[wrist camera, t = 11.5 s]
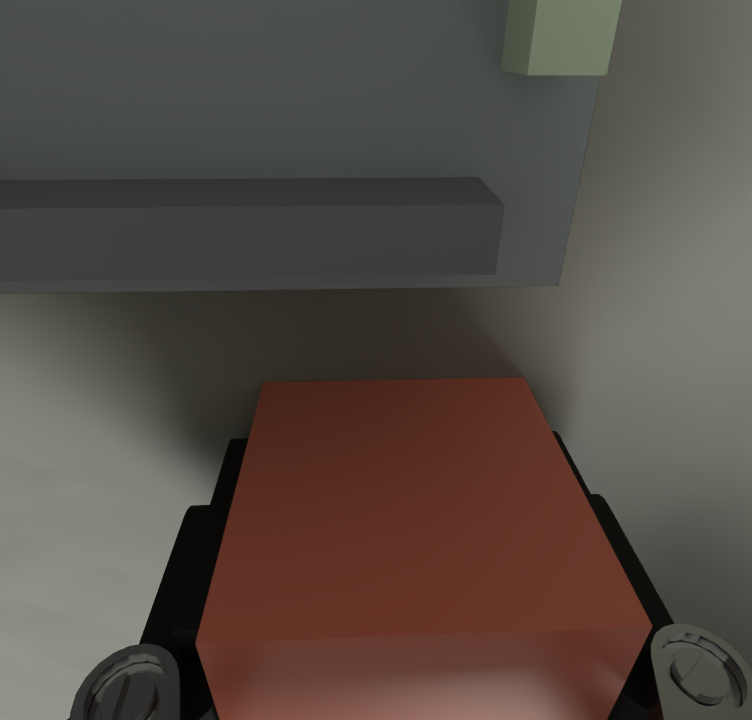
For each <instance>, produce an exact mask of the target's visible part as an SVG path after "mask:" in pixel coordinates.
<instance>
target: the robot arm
mask: <svg viewBox="0 0 752 720" xmlns="http://www.w3.org/2000/svg"><path fill="white" fill-rule="evenodd" d="M552 432H553V434H554V436H555V438H556V440H557V442H558V444H559V446H560V448H561V450H562V452H563V454H564V456H565V458H566V460H567V461H568V463H569V465H570V467H571V469H572V471H573V473H574V475H575V477H576V479H577V481H578V483H579V485H580V487H581V489H582V491H583V492H584V494H585V496H586V498H587V500H588V502H589V504H590V506H591V508H592V510H593V512H594V514H595V516H596V518H597V520H598V521H599V523H600V525H601V527H602V529H603V531H604V533H605V535H606V537H607V539H608V541H609V543H610V545H611V547H612V549H613V551H614V552H615V554H616V556H617V558H618V560H619V562H620V564H621V566H622V568H623V570H624V572H625V574H626V576H627V578H628V580H629V582H630V583H631V585H632V587H633V589H634V591H635V593H636V595H637V597H638V599H639V601H640V603H641V605H642V607H643V609H644V611H645V612H646V614H647V616H648V618H649V620H650V622H651V624H652V628H651V631H650V633H649V635H648V637H647V639H646V641H645V643H644V645H643V647H642V649H641V651H640V653H639V655H638V657H637V659H636V661H635V663H634V665H633V667H632V669H631V671H630V673H629V675H628V678H627V680H626V682H625V684H624V686H623V688H622V690H621V692H620V694H619V696H618V698H617V700H616V702H615V704H614V706H613V708H612V710H611V712H610V714H609V716H608V718H607V720H752V670H751V668H750V666H749V665H748V664H747V663H746V661H745V660H744V659H743V658H742V657H741V655H740V654H739V653H738V652H737V651H736V650H735V649H734V648H733V647H731V646H730V645H729V644H728V643H727V642H725V641H724V640H723V639H722V638H720V637H718V636H716V635H715V634H713V633H711V632H709V631H708V630H705V629H702V628H699V627H696V626H693V625H690V624H678V623H675V624H674V622H673V620H672V619H671V617H670V615H669V613H668V611H667V610H666V608H665V606H664V604H663V602H662V601H661V599H660V597H659V595H658V593H657V592H656V590H655V588H654V586H653V584H652V583H651V581H650V579H649V577H648V575H647V574H646V572H645V570H644V568H643V566H642V565H641V563H640V561H639V559H638V557H637V556H636V554H635V552H634V550H633V548H632V547H631V545H630V543H629V541H628V539H627V538H626V536H625V534H624V532H623V530H622V529H621V527H620V525H619V523H618V521H617V520H616V518H615V516H614V514H613V512H612V511H611V509H610V507H609V505H608V504H607V502H606V501H605V499H604V498H603V497H602V496H600V495H599V494H590V492H589V490H588V488H587V486H586V484H585V483H584V481H583V479H582V477H581V475H580V473H579V471H578V469H577V467H576V466H575V464H574V462H573V460H572V458H571V456H570V454H569V452H568V451H567V449H566V447H565V445H564V443H563V441H562V439H561V437H560V436H559V434H558V433H557V432H556V431H552ZM248 439H249V438H245V439H231V440H230V442H229V445H228V448H227V451H226V454H225V458H224V461H223V464H222V467H221V471H220V474H219V477H218V480H217V484H216V487H215V490H214V493H213V497H212V500H211V503H210V505H194V506H190V507H189V508H188V509H187V511H186V514H185V516H184V518H183V521H182V524H181V527H180V530H179V533H178V535H177V538H176V541H175V544H174V547H173V550H172V552H171V555H170V558H169V561H168V564H167V566H166V569H165V572H164V575H163V578H162V581H161V583H160V586H159V589H158V592H157V595H156V598H155V600H154V603H153V606H152V609H151V612H150V614H149V617H148V620H147V623H146V626H145V629H144V631H143V634H142V637H141V640H140V643H139V645H133V646H129V647H126V648H124V649H122V650H119V651H117V652H115V653H113V654H112V655H110V656H109V657H107V658H106V659H105V660H103V661H102V662H100V663H99V664H98V665H97V666H96V667H95V668H94V669H93V670H92V671H91V673H90V674H89V675H88V676H87V677H86V678H85V680H84V681H83V683H82V685H81V686H80V688H79V690H78V691H77V693H76V696H75V699H74V702H73V706H72V709H71V713H70V718H69V719H68V720H220V719H219V716H218V713H217V710H216V707H215V703H214V700H213V697H212V694H211V691H210V688H209V685H208V682H207V679H206V675H205V672H204V669H203V666H202V663H201V660H200V657H199V654H198V651H197V648H196V644H195V643H196V639H197V635H198V631H199V627H200V624H201V620H202V616H203V612H204V608H205V604H206V600H207V597H208V593H209V589H210V585H211V581H212V577H213V574H214V570H215V566H216V562H217V558H218V554H219V551H220V547H221V543H222V539H223V535H224V531H225V528H226V524H227V520H228V516H229V512H230V508H231V504H232V501H233V497H234V493H235V489H236V485H237V481H238V478H239V474H240V470H241V466H242V462H243V458H244V455H245V451H246V447H247V443H248Z"/></svg>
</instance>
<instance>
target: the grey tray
mask: <svg viewBox="0 0 752 720" xmlns="http://www.w3.org/2000/svg"><path fill="white" fill-rule="evenodd" d="M621 4H622V0H0V294H16V293H88V292H161V291H233V290H306V289H378V288H450V287H523V286H558V284H559V279H560V274H561V269H562V264H563V259H564V255H565V250H566V245H567V240H568V235H569V230H570V225H571V220H572V215H573V210H574V205H575V200H576V195H577V190H578V185H579V181H580V176H581V171H582V166H583V161H584V156H585V151H586V146H587V141H588V136H589V131H590V126H591V121H592V116H593V111H594V106H595V102H596V97H597V92H598V87H599V82H600V77H601V75H607V71H608V66H609V61H610V56H611V52H612V47H613V42H614V37H615V32H616V28H617V23H618V18H619V13H620V8H621Z"/></svg>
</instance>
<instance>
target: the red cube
mask: <svg viewBox="0 0 752 720" xmlns="http://www.w3.org/2000/svg"><path fill="white" fill-rule="evenodd" d="M651 628H652V624H651V622H650V620H649V618H648V616H647V614H646V612H645V611H644V609H643V607H642V605H641V603H640V601H639V599H638V597H637V595H636V593H635V591H634V589H633V587H632V585H631V583H630V582H629V580H628V578H627V576H626V574H625V572H624V570H623V568H622V566H621V564H620V562H619V560H618V558H617V556H616V554H615V552H614V551H613V549H612V547H611V545H610V543H609V541H608V539H607V537H606V535H605V533H604V531H603V529H602V527H601V525H600V523H599V521H598V520H597V518H596V516H595V514H594V512H593V510H592V508H591V506H590V504H589V502H588V500H587V498H586V496H585V494H584V492H583V491H582V489H581V487H580V485H579V483H578V481H577V479H576V477H575V475H574V473H573V471H572V469H571V467H570V465H569V463H568V461H567V460H566V458H565V456H564V454H563V452H562V450H561V448H560V446H559V444H558V442H557V440H556V438H555V436H554V434H553V432H552V430H551V429H550V427H549V425H548V423H547V421H546V419H545V417H544V415H543V413H542V411H541V409H540V407H539V405H538V403H537V401H536V400H535V398H534V396H533V394H532V392H531V390H530V388H529V386H528V384H527V382H526V380H525V378H524V377H506V378H456V379H407V380H358V381H308V382H263V385H262V389H261V393H260V397H259V401H258V405H257V409H256V412H255V416H254V420H253V424H252V428H251V432H250V435H249V439H248V443H247V447H246V451H245V455H244V458H243V462H242V466H241V470H240V474H239V478H238V481H237V485H236V489H235V493H234V497H233V501H232V504H231V508H230V512H229V516H228V520H227V524H226V528H225V531H224V535H223V539H222V543H221V547H220V551H219V554H218V558H217V562H216V566H215V570H214V574H213V577H212V581H211V585H210V589H209V593H208V597H207V600H206V604H205V608H204V612H203V616H202V620H201V624H200V627H199V631H198V635H197V639H196V643H195V644H196V648H197V651H198V654H199V657H200V660H201V663H202V666H203V669H204V672H205V675H206V679H207V682H208V685H209V688H210V691H211V694H212V697H213V700H214V703H215V707H216V710H217V713H218V716H219V719H220V720H607V718H608V716H609V714H610V712H611V710H612V708H613V706H614V704H615V702H616V700H617V698H618V696H619V694H620V692H621V690H622V688H623V686H624V684H625V682H626V680H627V678H628V675H629V673H630V671H631V669H632V667H633V665H634V663H635V661H636V659H637V657H638V655H639V653H640V651H641V649H642V647H643V645H644V643H645V641H646V639H647V637H648V635H649V633H650V631H651Z"/></svg>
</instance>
